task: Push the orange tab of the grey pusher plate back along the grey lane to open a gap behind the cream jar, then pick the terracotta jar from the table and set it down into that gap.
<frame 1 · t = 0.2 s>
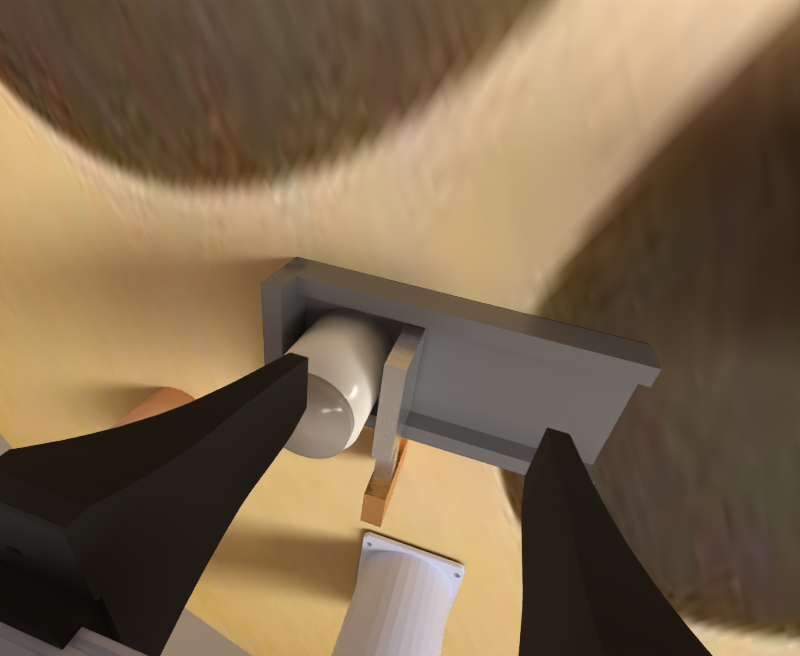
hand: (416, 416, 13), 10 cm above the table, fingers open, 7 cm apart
cream jar: (352, 348, 24), point 1 cm above the table, touching lane
lane: (445, 365, 23), on the table
terracotta jar: (181, 413, 32), on the table
pusher: (394, 424, 23), point 3 cm above the table, slide at 0.0 cm
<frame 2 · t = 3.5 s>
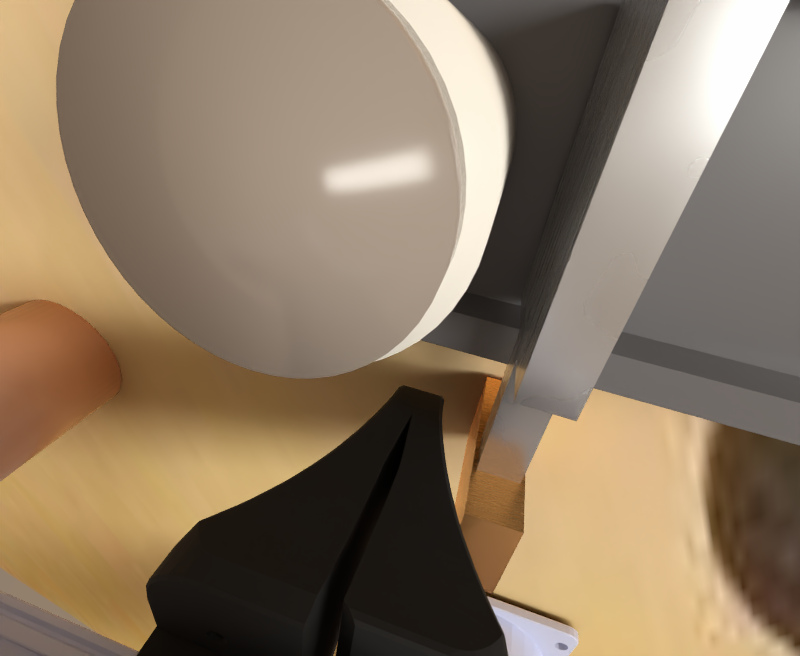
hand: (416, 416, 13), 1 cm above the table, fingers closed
cream jar: (400, 138, 9), point 1 cm above the table, touching lane
lane: (635, 180, 9), on the table
terracotta jar: (70, 353, 18), on the table
pusher: (544, 330, 9), point 3 cm above the table, slide at 0.7 cm, touching gripper
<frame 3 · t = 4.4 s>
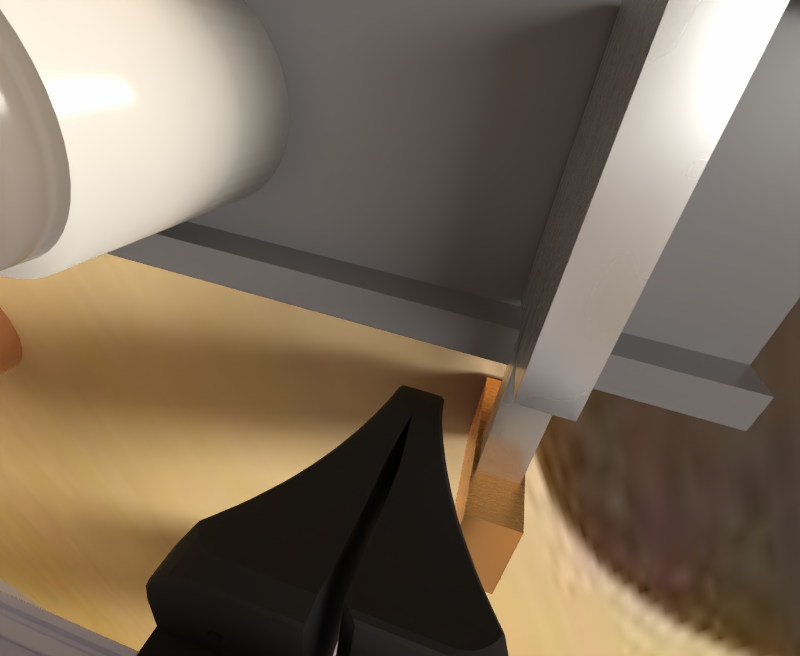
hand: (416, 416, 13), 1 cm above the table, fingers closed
cream jar: (195, 97, 10), point 1 cm above the table, touching lane
lane: (408, 135, 10), on the table
pusher: (544, 331, 9), point 3 cm above the table, slide at 5.9 cm, touching gripper
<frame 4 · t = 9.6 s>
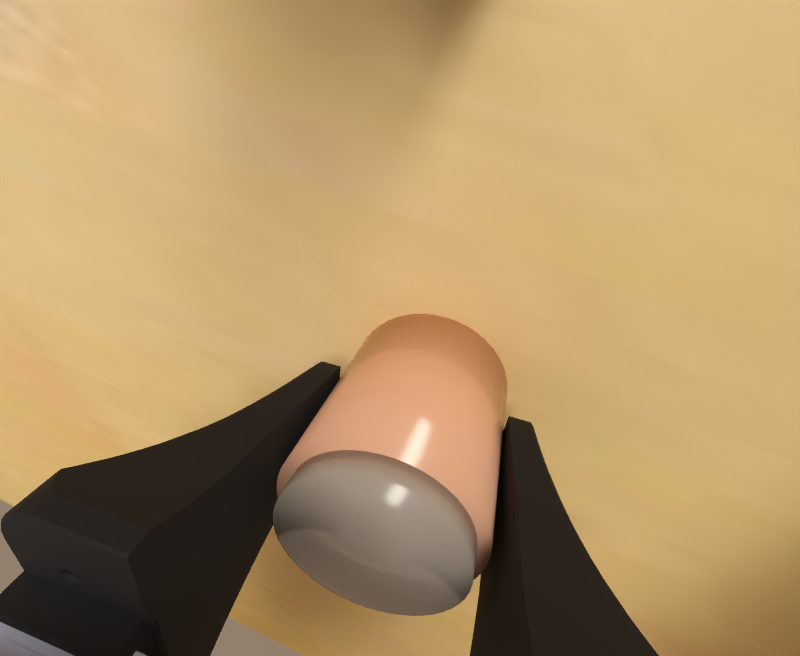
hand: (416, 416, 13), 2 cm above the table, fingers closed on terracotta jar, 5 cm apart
terracotta jar: (429, 381, 14), on the table, touching gripper
when the fingers open (3 cm above the table, at t = 13.6 s): terracotta jar stays where it is, resting on lane.
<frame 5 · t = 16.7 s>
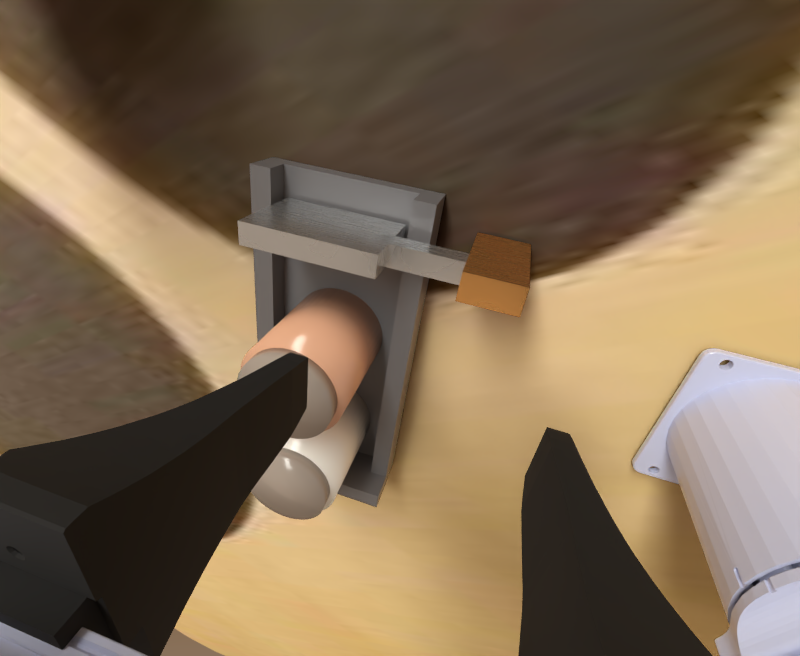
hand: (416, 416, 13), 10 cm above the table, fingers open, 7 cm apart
cream jar: (332, 411, 26), point 1 cm above the table, touching lane
lane: (343, 336, 24), on the table
terracotta jar: (338, 329, 23), point 1 cm above the table, touching lane
pusher: (391, 245, 18), point 3 cm above the table, slide at 8.9 cm
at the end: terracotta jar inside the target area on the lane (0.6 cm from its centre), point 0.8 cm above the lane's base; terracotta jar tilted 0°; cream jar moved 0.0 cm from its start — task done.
